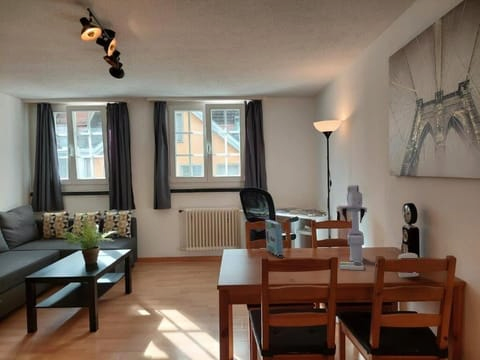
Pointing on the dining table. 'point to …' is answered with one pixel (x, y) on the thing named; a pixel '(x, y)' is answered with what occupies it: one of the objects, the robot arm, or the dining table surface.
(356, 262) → the slate block
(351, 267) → the channel
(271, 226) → the gum box
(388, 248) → the dining table surface
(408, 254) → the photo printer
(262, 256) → the dining table surface
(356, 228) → the robot arm
